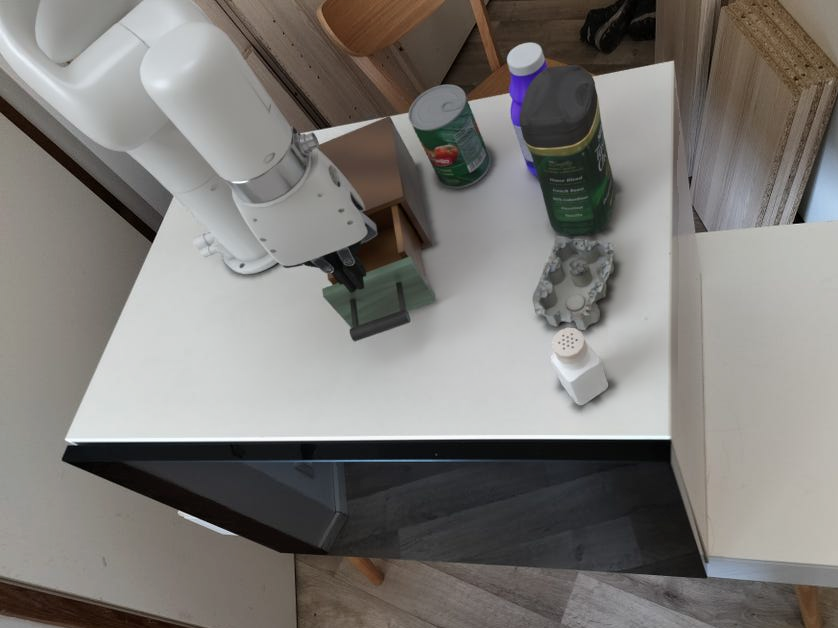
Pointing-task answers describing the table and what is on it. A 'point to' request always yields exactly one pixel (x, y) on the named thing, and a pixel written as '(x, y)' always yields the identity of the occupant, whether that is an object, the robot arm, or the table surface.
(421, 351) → the table surface
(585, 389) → the salt shaker
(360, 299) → the drawer
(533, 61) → the bottle
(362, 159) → the cabinet
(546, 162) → the coffee jar
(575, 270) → the egg carton
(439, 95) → the canned tomato
